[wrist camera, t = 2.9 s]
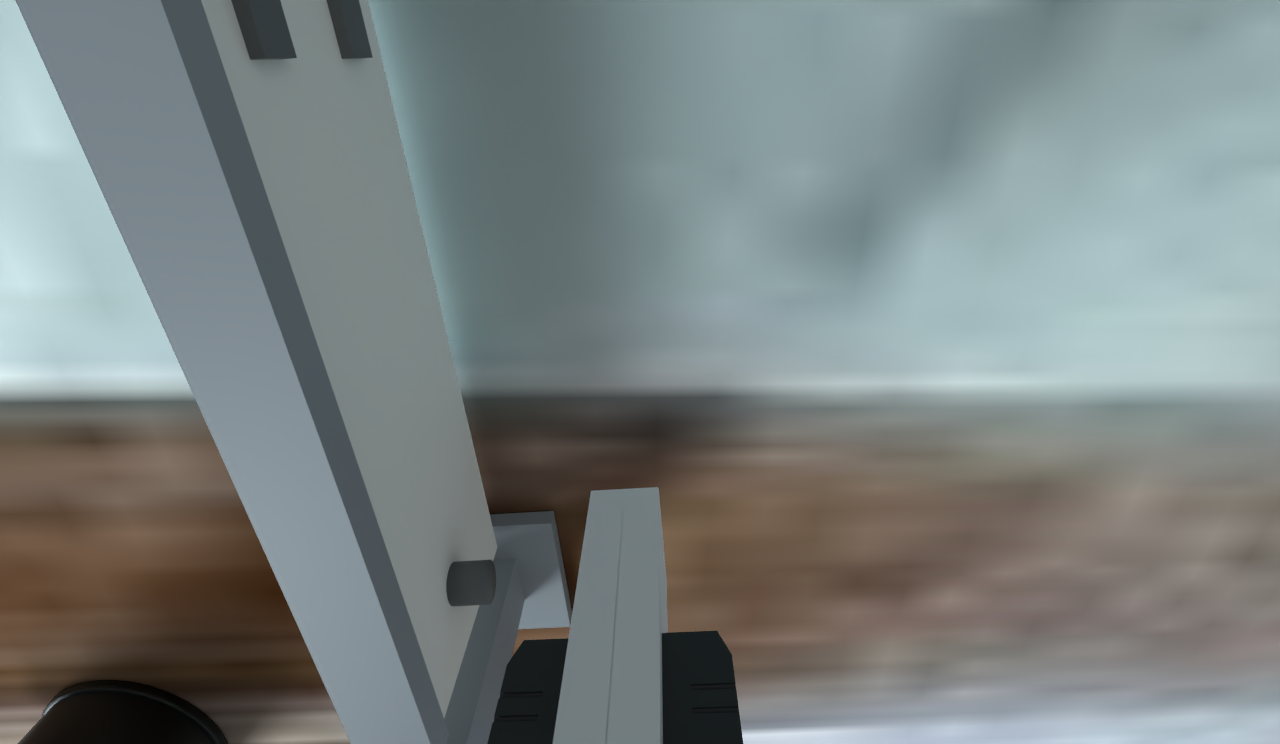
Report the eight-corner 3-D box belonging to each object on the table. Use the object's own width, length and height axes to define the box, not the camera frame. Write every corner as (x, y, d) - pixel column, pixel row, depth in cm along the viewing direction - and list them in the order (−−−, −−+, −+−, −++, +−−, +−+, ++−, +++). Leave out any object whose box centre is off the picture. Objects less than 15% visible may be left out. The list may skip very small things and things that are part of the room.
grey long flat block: (251, -168, 16) (-167, -403, 8) (373, -182, 16) (78, -435, 8) (451, 549, 26) (363, 771, 18) (526, 545, 26) (470, 766, 18)
